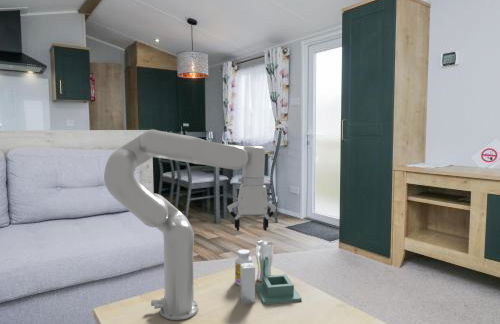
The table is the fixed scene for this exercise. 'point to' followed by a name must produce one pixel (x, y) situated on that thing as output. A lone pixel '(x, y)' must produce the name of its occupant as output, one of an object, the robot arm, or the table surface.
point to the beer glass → (264, 258)
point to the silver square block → (247, 283)
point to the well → (277, 290)
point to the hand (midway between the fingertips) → (251, 229)
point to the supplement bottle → (242, 258)
